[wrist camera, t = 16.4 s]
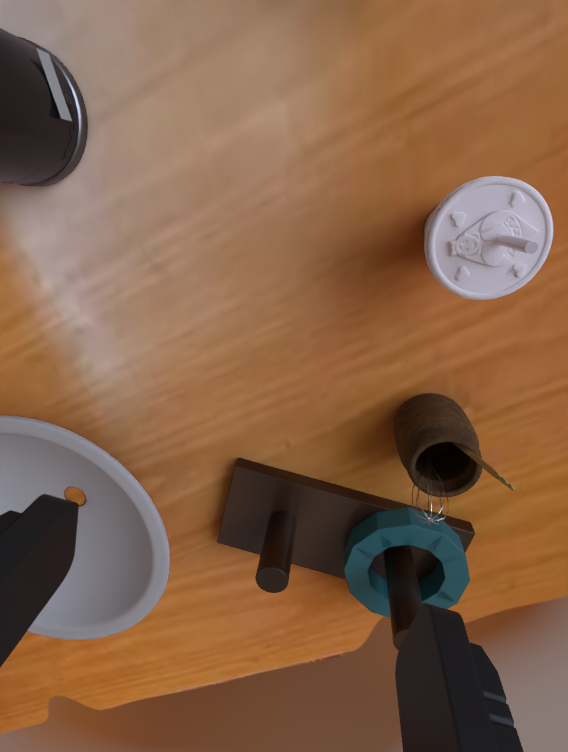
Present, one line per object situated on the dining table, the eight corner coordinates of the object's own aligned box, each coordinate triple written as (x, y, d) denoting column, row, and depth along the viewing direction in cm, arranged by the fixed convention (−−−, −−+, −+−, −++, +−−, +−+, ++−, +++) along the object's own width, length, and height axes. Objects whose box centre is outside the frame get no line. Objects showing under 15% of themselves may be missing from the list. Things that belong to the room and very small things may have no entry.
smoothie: (499, 265, 34) (596, 308, 21) (409, 281, 35) (448, 331, 22) (495, 171, 32) (600, 154, 19) (399, 192, 33) (436, 189, 20)
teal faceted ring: (332, 580, 44) (331, 600, 42) (365, 494, 40) (367, 512, 38) (436, 610, 44) (441, 632, 42) (480, 527, 40) (488, 547, 38)
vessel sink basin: (85, 617, 53) (52, 672, 47) (-81, 468, 48) (-143, 509, 41) (241, 523, 45) (225, 574, 39) (63, 334, 40) (13, 359, 34)
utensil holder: (377, 422, 39) (390, 511, 28) (435, 374, 37) (473, 449, 26) (424, 466, 40) (455, 568, 29) (483, 421, 38) (540, 513, 27)
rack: (220, 532, 46) (187, 622, 36) (238, 457, 42) (207, 535, 33) (435, 593, 45) (460, 701, 36) (471, 522, 42) (509, 620, 32)
